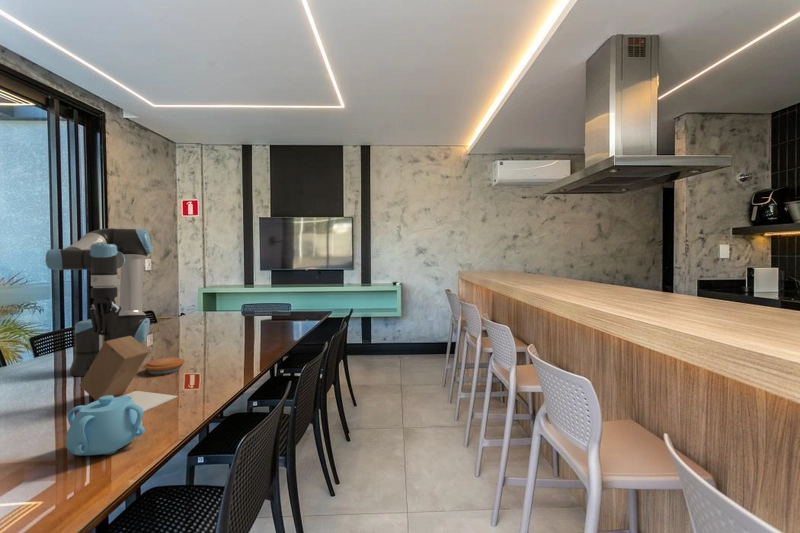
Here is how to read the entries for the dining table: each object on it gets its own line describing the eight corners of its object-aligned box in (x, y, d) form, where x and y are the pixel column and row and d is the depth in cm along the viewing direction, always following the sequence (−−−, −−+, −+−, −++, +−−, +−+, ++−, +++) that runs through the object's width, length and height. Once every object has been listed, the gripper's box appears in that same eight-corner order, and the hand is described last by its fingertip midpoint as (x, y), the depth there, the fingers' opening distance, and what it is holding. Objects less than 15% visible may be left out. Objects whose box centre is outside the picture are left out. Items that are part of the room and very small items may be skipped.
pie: (192, 367, 171) (192, 356, 171) (166, 377, 156) (166, 366, 156) (163, 365, 174) (163, 354, 174) (134, 375, 159) (134, 363, 159)
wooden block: (97, 403, 128) (124, 358, 125) (78, 385, 130) (104, 340, 127) (124, 393, 138) (150, 351, 135) (106, 376, 139) (131, 334, 137)
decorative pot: (147, 448, 99) (147, 398, 99) (66, 471, 88) (66, 414, 88) (138, 427, 111) (138, 382, 111) (66, 445, 100) (66, 395, 100)
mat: (136, 391, 139) (136, 390, 139) (177, 397, 135) (177, 395, 135) (94, 407, 125) (94, 406, 125) (139, 413, 120) (139, 412, 120)
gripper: (79, 287, 130) (79, 353, 131) (107, 288, 127) (108, 356, 127) (101, 285, 138) (101, 348, 138) (128, 286, 134) (128, 351, 135)
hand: (104, 352), depth 133 cm, fingers closed
